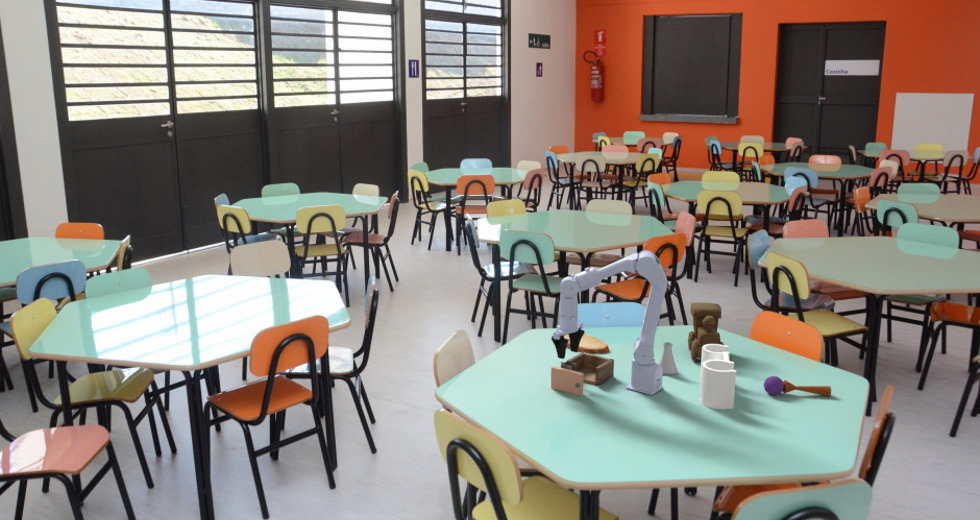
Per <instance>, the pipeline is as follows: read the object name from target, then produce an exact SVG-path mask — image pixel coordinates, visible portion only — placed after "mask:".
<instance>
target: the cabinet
mask: <svg viewBox="0 0 980 520" xmlns="http://www.w3.org/2000/svg"><path fill="white" fill-rule="evenodd" d="M560 368H564V369H568V370H572V371H576V372H580V373H584V382H583V383H586V384H590V385H594V386H597V387H598V386H599V387H600V386H601V385H602V384H604V383H606V382H607V381H609V380H610V379H612V378H613V377H614V375H615V373H614V372H615V370H614V368H615V359H613V358H608V357H606V356H601V355H598V354H593V353H584V352H580V353H579V354H576V355H574V356H573V357H571V358H569V359H567V360H566V361H561V362H560Z"/></svg>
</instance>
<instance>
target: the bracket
mask: <svg viewBox="0 0 980 520" xmlns="http://www.w3.org/2000/svg"><path fill="white" fill-rule="evenodd" d="M730 357H731V353H730V351H729V345H725V344H724V345H720V344H706V345H704V346H702V357H701V358H700V359H701V361H700V374H699V384H700V392H699V403H700V404H701V405H703V406H705V407H706V408H710V409H713V410H715V409H716V410H727V409H729V410H733V409H734V406H735V405H734V404H735V402H734V401H735V393H736V390H735V389H736V378H737V370H736V369H735V362H734V361H731V360H730Z"/></svg>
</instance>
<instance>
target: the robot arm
mask: <svg viewBox="0 0 980 520" xmlns="http://www.w3.org/2000/svg"><path fill="white" fill-rule="evenodd" d="M623 272H628V273H632V274H636V272H637V273H638V274H639V275H640V276H641V277H643V278H645V279H646V281H648V283H649V284H650V285H651V286H650V289H649V290H650V291H649V294H648V300H647V303H646V307H645V312H644V317H643V321H642V325H641V329H640V331H639V335H638V337H637V339H636V340H635V341H634V344H633V357H632V359H631V369H630V370H631V376H630V383H629V384H628V385H626V386H625V389H626V390H630V391H631V390H632V391H635V392H639V393H643V394H646V395H650V396H653V395H655V394H656V393H657V392H659V391H660V390H662V389H663V388H664V386H663V380H664V379H663V376H664V374H663V368H662V366H661V365H658V364H659V363H657V362H656V360H655V353H654V347H655V340H656V339H655V338H656V333H657V329H658V325H659V319H660V316H661V311H662V308H663V307H662V306H663V305H664V304H663V303H664V299H665V296H666V290H667V288H668V279H667V275H666V273H665V271H664V268H663V266H662V264H661V260H660V258H658V256H657V255H656V254H655V253H654V252H653V251H651V250H647V249H646V250H641V251H639V252H635V253H633V254H630V255H628V256H626V257H623V258H620V259H619V260H616V261H614V262H612V263H610V264H607V265H606V266H603V267H601V268H599V269H598V268H595V267H591V268H590V267H585V268H584V270H583V271H581V272H578V273H576V274H575V273H572V274H570V275H569V276H566V277H564V278H563V279H561V281H560V285H559V289H558V290H559V292H560V295H559V297H560V300H559V324H558V325H556V330H555V331H554V332H553V333H552V336H551V337H550V338H551V341H552V343H553V345H554V347H555V350H556V355H557V358H558V359H562V360H564V359H565V358H566V353H567V352H566V350H567V348H566V347H567V344H568V341H569V339H570V349H569V350H570V352H572V353H578V352H579V351H578V347H579V344H580V341H581V338H582V336H583V335H584V334H586V333H585V330H583V328H584V322H581V321H578V317H579V316H578V314H579V313H578V308H579V301H578V293H579V292H584V291H587V290H589V289H591V288H594V287H597V286H600V285H601V283H602V280H604V279H607V278H609V277H612V276H615V275H618V274H621V273H623ZM567 334H568V335H569V339H565V337H564V336H565V335H567Z"/></svg>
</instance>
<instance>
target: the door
mask: <svg viewBox="0 0 980 520" xmlns="http://www.w3.org/2000/svg"><path fill="white" fill-rule="evenodd" d="M550 368H551V369H550V388H551V389H555V390H558V391H561V392H565V393H568V394H569V393H570V394H573V395H576V396H580V397H581V396H583V395H584V383H585V382H584V373H580V372H576V371H572V370H568V369H564V368H561V366H555V365H553V366H552V367H550Z"/></svg>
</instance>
